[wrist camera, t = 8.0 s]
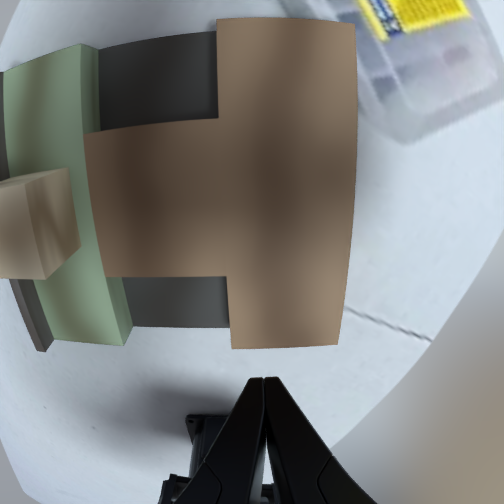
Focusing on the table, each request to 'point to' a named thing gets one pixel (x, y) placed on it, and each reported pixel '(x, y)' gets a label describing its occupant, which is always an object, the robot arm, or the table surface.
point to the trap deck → (194, 181)
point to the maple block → (36, 224)
